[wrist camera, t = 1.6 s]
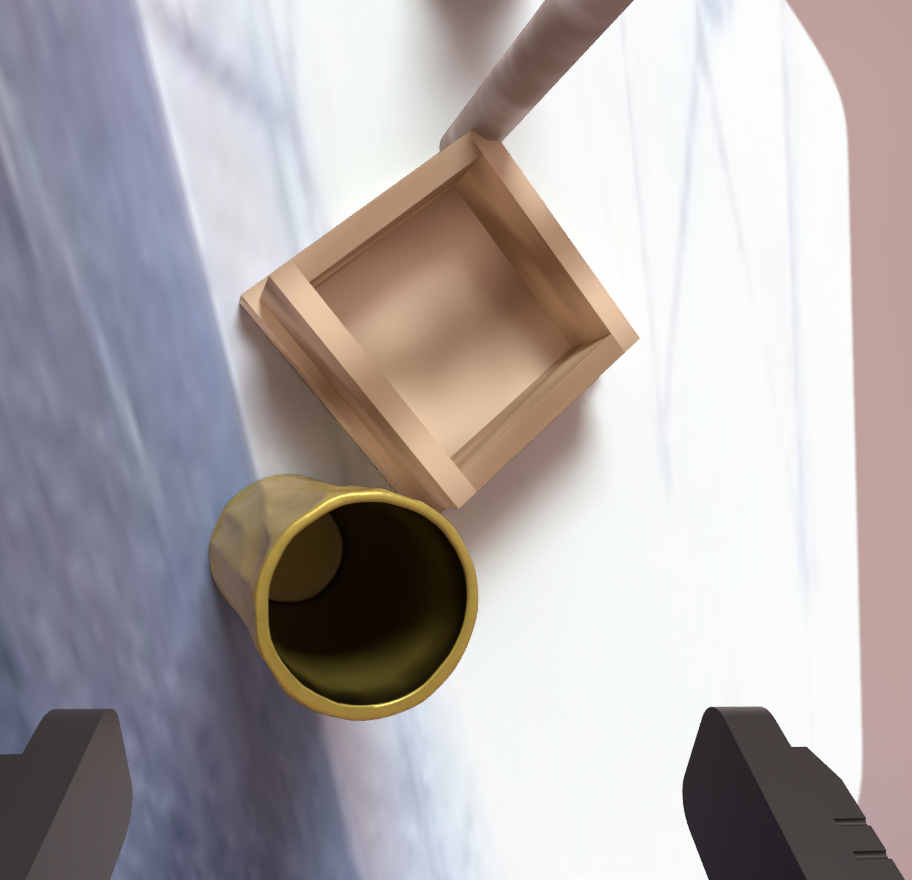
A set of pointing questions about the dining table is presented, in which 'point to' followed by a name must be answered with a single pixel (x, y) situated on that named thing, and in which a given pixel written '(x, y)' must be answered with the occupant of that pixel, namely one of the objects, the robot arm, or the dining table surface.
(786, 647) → the dining table surface
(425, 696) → the vase
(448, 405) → the stand
